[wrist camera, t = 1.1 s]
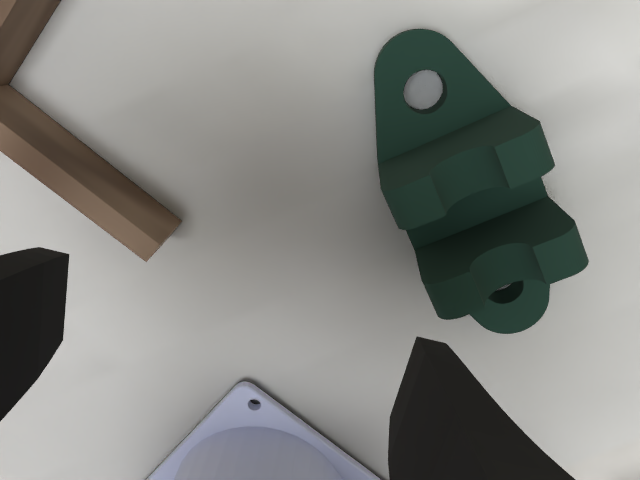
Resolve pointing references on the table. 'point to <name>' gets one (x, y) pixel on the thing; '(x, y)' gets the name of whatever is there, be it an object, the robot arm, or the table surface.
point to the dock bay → (69, 147)
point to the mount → (470, 189)
